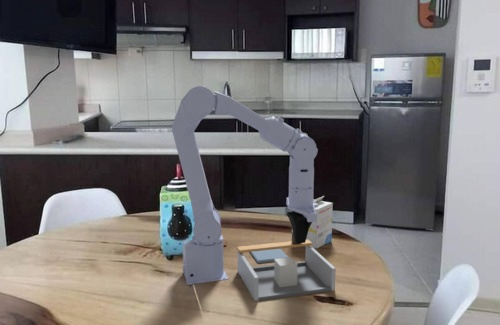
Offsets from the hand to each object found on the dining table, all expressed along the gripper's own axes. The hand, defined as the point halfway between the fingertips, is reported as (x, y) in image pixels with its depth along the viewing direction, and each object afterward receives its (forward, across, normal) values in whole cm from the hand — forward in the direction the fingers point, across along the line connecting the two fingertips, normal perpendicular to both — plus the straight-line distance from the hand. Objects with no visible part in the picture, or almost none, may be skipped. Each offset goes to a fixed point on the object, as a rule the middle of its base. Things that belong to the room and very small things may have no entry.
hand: (300, 242), depth 105 cm
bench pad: (+8, +11, +4) cm, 14 cm away
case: (+8, -4, +6) cm, 10 cm away
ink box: (+8, +18, -10) cm, 22 cm away
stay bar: (+1, +2, +6) cm, 6 cm away
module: (+7, -5, +6) cm, 10 cm away
